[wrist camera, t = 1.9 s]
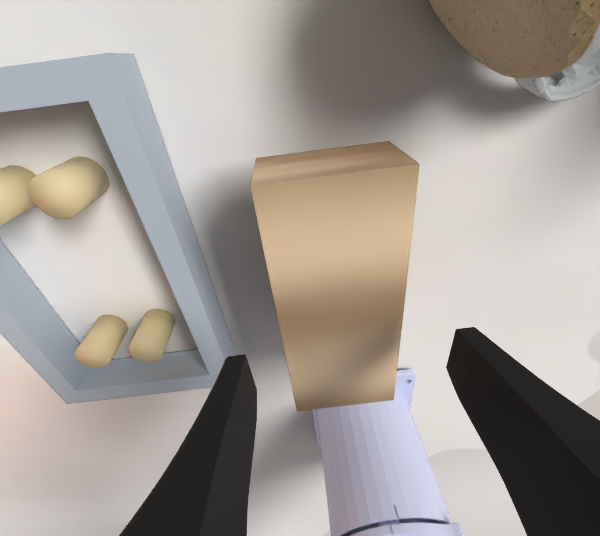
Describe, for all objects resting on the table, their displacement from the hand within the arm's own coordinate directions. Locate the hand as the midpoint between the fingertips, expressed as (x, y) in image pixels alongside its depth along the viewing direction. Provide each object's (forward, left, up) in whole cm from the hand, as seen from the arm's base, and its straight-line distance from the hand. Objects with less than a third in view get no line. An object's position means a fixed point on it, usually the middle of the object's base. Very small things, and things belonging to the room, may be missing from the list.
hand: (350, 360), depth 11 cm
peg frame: (+1, +12, -8) cm, 14 cm away
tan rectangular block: (0, 0, -5) cm, 5 cm away
